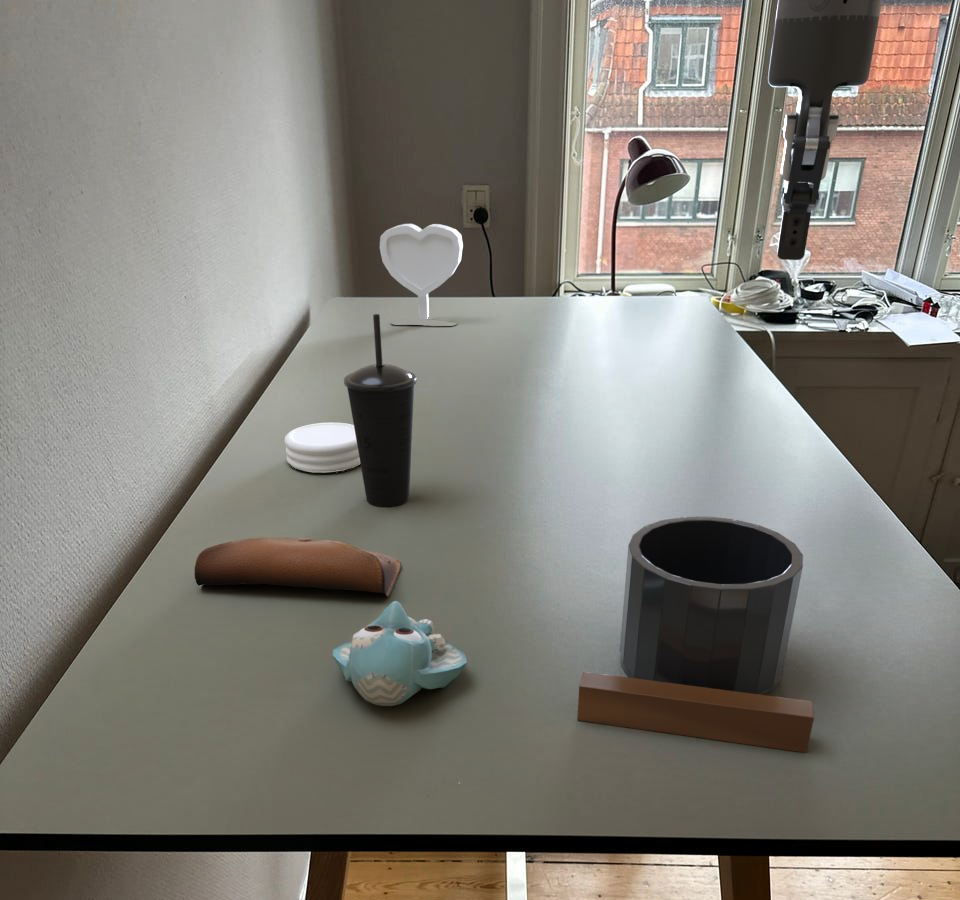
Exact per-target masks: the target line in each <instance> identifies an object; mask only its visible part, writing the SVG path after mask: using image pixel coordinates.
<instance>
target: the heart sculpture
mask: <svg viewBox="0 0 960 900" xmlns="http://www.w3.org/2000/svg"><path fill="white" fill-rule="evenodd" d="M463 248H464V243H463V237H462V234H461V233H460V232H459V231H458V230H457V229H456V228H453V227H451V226H449V225H444V224H440V223H432V224H430V225H427V226H425V227H424V228H423V229H422V228H421V227H420V226H418V225H416V224H414V223H402V224H399V225H396V226H393V227H391V228H388V229H387V230H384V232H383V233H382V234H381V235H380V237H379V251H380V256H381V262H382V264H383V265H384V267H385V268H386V270H387V271H388V274H389V275H390V276H391V277H392V278H393V279H394V280H395V281H397V283H399V284H400V285H402V287H404V288H406V289H407V290H409V291H410V292H412V293H413V294H415V295H416V296H417V302H418V303H417V304H418V319H419V318H424V319H428V317H429V318H430V306H429V305H430V304H429V294H430V293H431V292H432V291H434V290H436V289H438V288H439V287H440V286H441V285H443V284H445V282H446V281H447V280H448V279H449V278H451V277H452V276H453V275H454V273H455V272H456V270H457V268H458V266H459V265H460V263H461V261H462V255H463Z"/></svg>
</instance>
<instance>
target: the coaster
mask: <svg viewBox="0 0 960 900" xmlns="http://www.w3.org/2000/svg"><path fill="white" fill-rule="evenodd" d="M284 445H285V454H286V462H287V461H288V462H287V464H288V463H290V464H291V465H293V466H295V467H297V468H301V469H305V470H312V471H336V470H343V469H349V468H352V467H355V466H358V465H360V458H359V452H358V447H357V441H356V435H355V429H354V424H352V423H351V424H350V423H345V422H317V423H310V424H305V425H303V426H299V427H297V428H293V429H292V430H290V431H289V432H287V434H286V435H285V437H284ZM360 466H361V465H360ZM358 467H359V466H358Z"/></svg>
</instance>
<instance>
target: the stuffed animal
mask: <svg viewBox="0 0 960 900" xmlns="http://www.w3.org/2000/svg"><path fill="white" fill-rule="evenodd" d="M434 629H435V626H434V623H433V621H432V620H430V619H427V618H424V619H420V620H418V621H417V620H416V619H414V618H412V617H410V616H408V615H407V613H406V611H405V609H404V608H403V605H402V604H401V602H400V601H398V600H393V601H391V602H390V604H388V606H386V607H385V609H384V610H383V611H382V612H381V614H380V616H379V617H378V618H376V619H374V620H373V621H372V622H371V623H369V624H368V625H366V626H365V627H363V628H361V629H360V630H358V631H356V632H355V633H354V634H353V635H352V638H351V641H349V642H345V643H343V644H342V645H339V646H338V647H336V648H334V649H332V657H333V659H334V660H335V663H336V664H337V667H338V669H339V670H340V671H341V673H342V674H343V676H344V679H345V681H346V682H350V683H352V685H353V687H354V689H355V690H356V691H357V692H358V694H359V695H360V696H361V697H362V698H363V700H364V701H366V702H368V703H370V704H372V705H376V706H381V707H394V706H397V705H398V706H399V705H401V704H403V703H405V702H406V701H407V700H408V699H410V698H411V697H412V696H414V695H415V694H417V693H418V692H419V691H421V689H425V690H434V689H438V688H443V689H444V688H445V687H446V686H448V685H449V684H450V683H451V682H452V681H453V680H454V679H456V678H458V677H459V676H460V675H461V673H462V671H463V670H464V668H465V666H467V663H468V661H467V660H468V659H467V657H466V655H465V653H464V652H462V651H461V650H459V649H458V648H456V647H455V646H454V645H452V644H450V643H448V642H446V641H445V638H444V637H443V635H441V634H440V633H433V632H434ZM433 652H434V653H433Z"/></svg>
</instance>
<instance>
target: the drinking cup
mask: <svg viewBox="0 0 960 900" xmlns="http://www.w3.org/2000/svg"><path fill="white" fill-rule="evenodd" d="M372 320H373V336H374V350H375V351H374V352H375V364H370V365H366V366H363V367H361V368H358V369H357V370H354V371H353V372H350V373H348V374H347V375H345V376H344V378H343V384H344V387H346V388H347V394H348V399H349V405H350V411H351V416H352V422H353V425H354V429H355V435H356V441H357V447H358V452H359V458H360V464H361V465H360V469H361V475H362V480H363V486H364V492H365V498H366V501H367V503H369V504H370V505H372V506H375V507H386V508H389V507H396V506H401V505H403V504H405V503H407V502H408V501H409V499H410V490H411V488H410V487H411V466H412V465H411V464H412V441H413V422H414V421H413V420H414V419H413V417H414V397H415V396H414V394H415V385H416V384H417V375H416V373H414V372H411V371H409V370H406V369H404V368H402V367H399V366H397V365H392V364H387V363H383V348H382V331H381V330H382V329H381V314H379V313H374V314H373V315H372Z"/></svg>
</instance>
